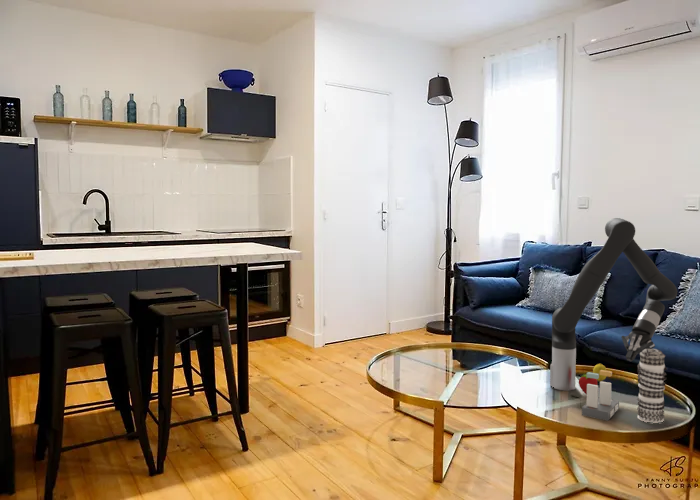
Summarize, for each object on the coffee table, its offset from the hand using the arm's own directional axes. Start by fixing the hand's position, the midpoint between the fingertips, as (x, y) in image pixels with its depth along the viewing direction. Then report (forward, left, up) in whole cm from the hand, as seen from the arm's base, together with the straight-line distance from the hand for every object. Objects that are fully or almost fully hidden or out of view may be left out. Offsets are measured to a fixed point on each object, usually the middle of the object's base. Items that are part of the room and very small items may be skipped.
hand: (628, 359), depth 217 cm
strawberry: (-15, -1, -17) cm, 22 cm away
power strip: (-5, -15, -17) cm, 23 cm away
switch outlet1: (-7, -22, -14) cm, 27 cm away
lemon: (-16, +19, -17) cm, 29 cm away
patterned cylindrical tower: (+10, -13, -17) cm, 24 cm away
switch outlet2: (-4, -16, -14) cm, 22 cm away
